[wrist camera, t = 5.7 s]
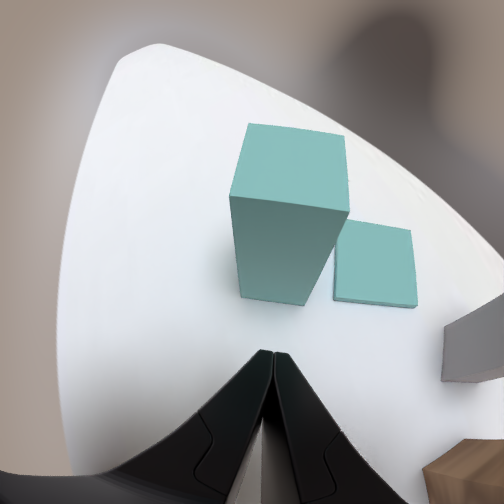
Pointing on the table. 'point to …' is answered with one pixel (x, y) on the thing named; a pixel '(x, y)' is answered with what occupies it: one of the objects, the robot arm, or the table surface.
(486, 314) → the grey pillar
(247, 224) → the teal pillar
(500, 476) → the walnut pillar
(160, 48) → the table surface
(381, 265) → the teal colour card
